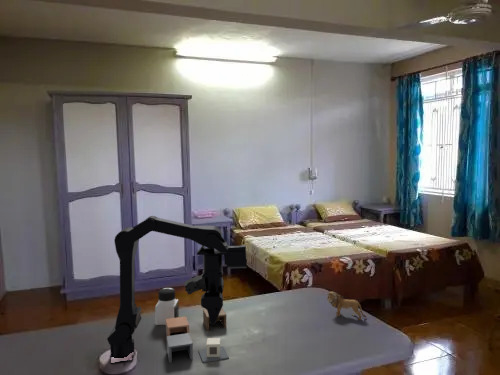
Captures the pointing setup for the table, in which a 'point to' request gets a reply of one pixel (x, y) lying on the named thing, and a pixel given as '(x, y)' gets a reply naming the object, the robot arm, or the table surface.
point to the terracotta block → (177, 325)
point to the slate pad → (208, 359)
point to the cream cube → (213, 347)
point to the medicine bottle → (166, 306)
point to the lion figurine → (344, 304)
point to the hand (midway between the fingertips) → (213, 318)
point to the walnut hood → (220, 318)
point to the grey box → (179, 345)
